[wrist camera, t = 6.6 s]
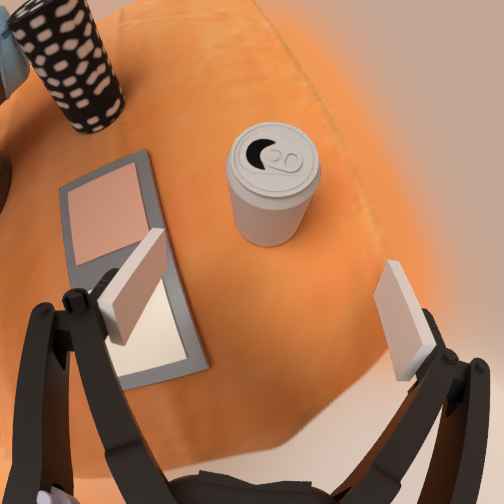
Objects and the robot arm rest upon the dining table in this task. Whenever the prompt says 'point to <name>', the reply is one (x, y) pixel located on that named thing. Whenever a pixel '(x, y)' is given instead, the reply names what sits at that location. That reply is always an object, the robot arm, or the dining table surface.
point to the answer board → (115, 255)
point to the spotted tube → (69, 60)
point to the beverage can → (271, 181)
